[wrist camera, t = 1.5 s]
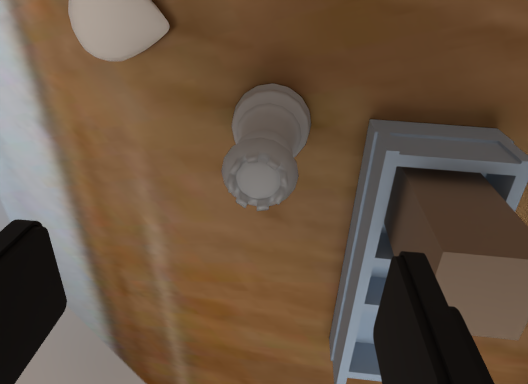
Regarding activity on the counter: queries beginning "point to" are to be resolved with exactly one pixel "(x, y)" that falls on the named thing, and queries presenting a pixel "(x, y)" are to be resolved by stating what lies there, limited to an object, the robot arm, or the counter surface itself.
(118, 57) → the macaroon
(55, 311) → the robot arm
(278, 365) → the counter surface
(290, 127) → the rook chess piece
